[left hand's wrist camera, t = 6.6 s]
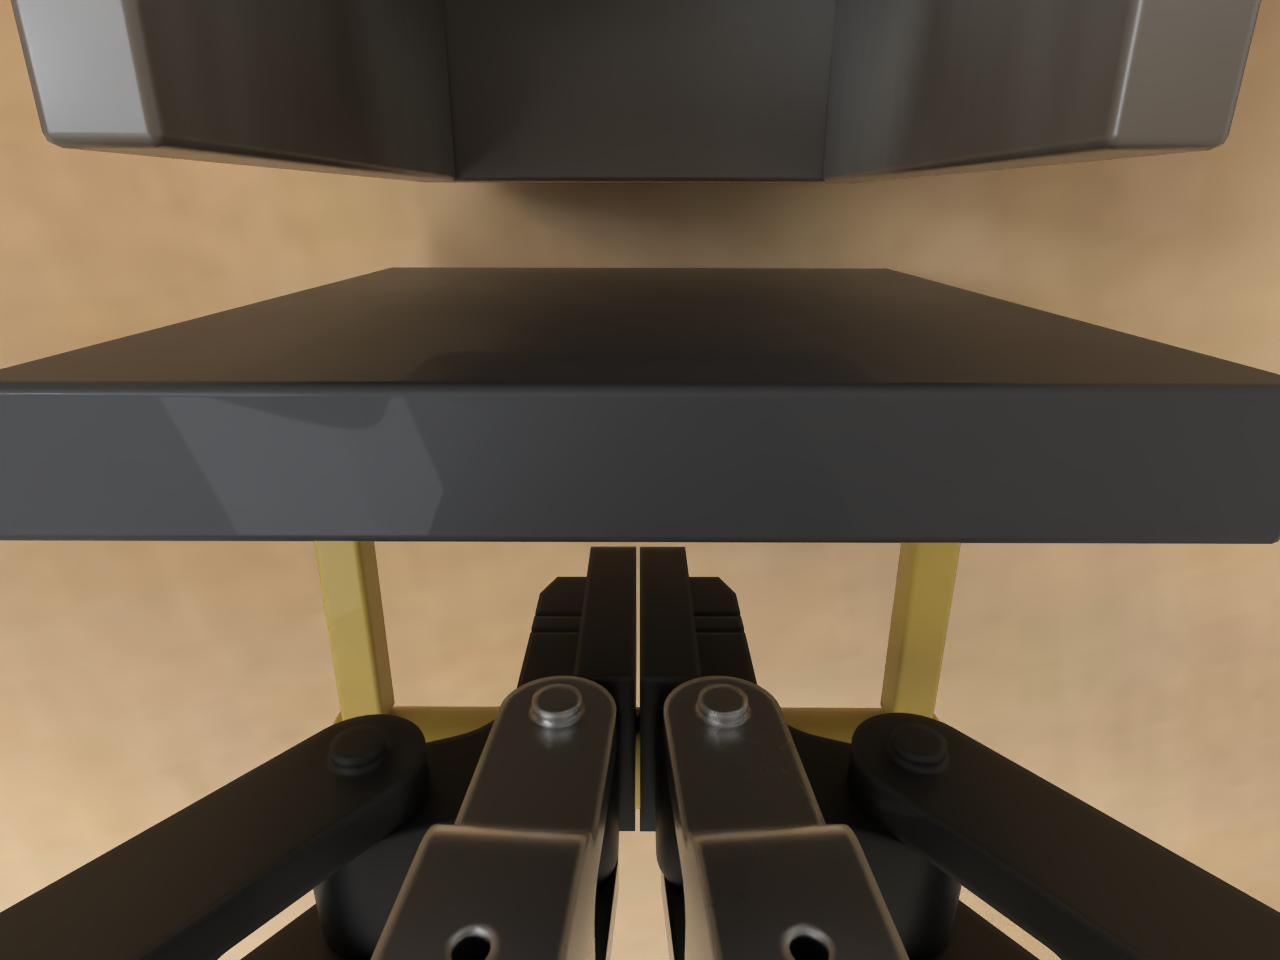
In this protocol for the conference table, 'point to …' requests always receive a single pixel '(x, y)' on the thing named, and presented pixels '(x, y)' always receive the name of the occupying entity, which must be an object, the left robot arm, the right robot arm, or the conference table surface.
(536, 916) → the left robot arm
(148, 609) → the conference table surface
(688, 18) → the drawer
